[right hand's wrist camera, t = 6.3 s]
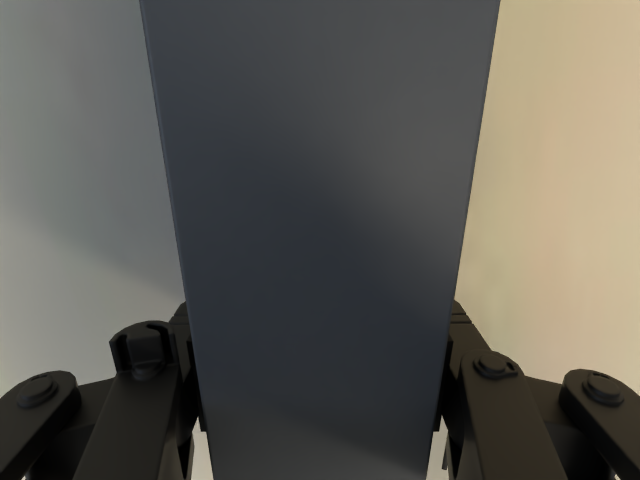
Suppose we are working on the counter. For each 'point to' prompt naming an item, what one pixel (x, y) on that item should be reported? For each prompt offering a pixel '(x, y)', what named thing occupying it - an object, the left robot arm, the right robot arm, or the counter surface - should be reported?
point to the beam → (319, 219)
